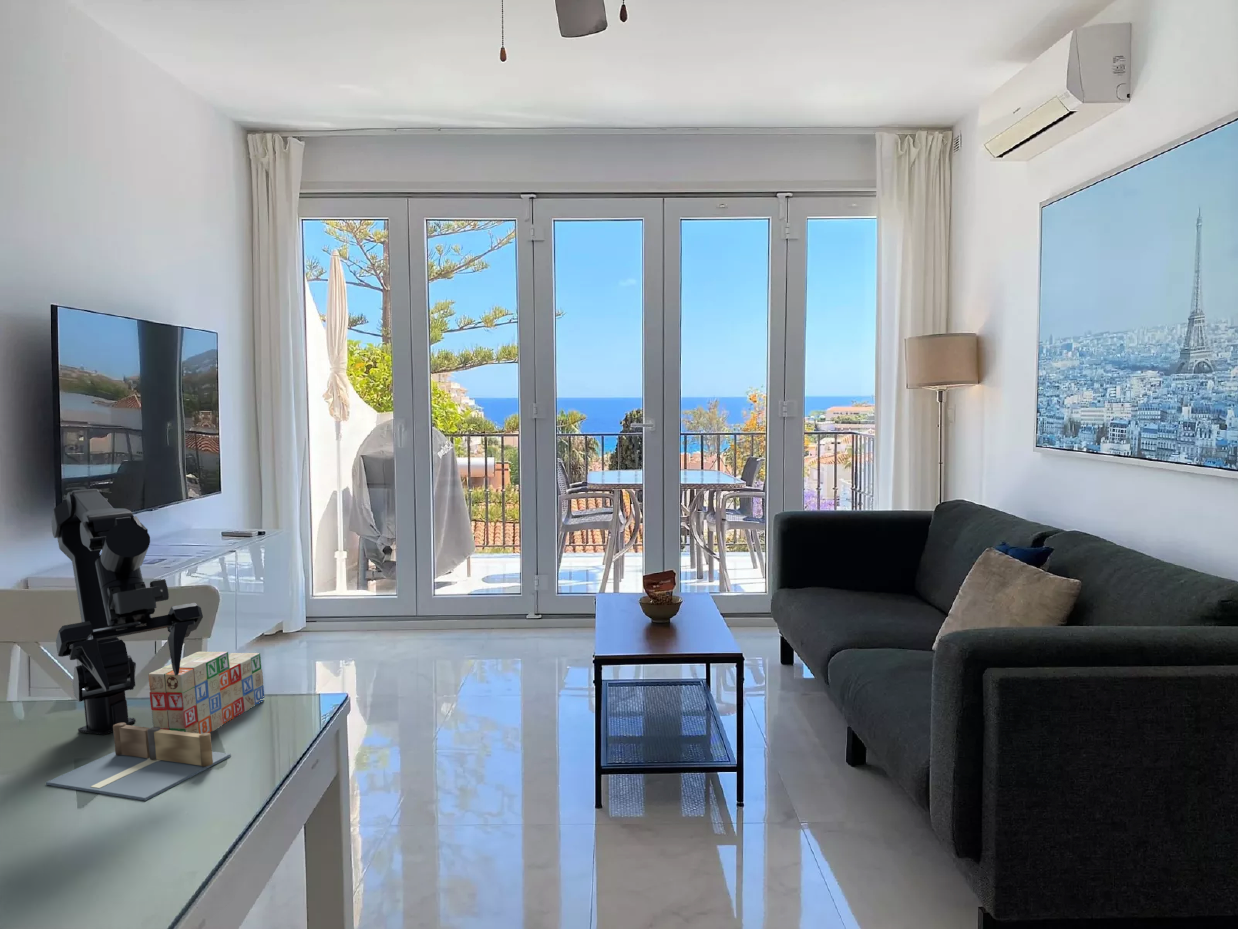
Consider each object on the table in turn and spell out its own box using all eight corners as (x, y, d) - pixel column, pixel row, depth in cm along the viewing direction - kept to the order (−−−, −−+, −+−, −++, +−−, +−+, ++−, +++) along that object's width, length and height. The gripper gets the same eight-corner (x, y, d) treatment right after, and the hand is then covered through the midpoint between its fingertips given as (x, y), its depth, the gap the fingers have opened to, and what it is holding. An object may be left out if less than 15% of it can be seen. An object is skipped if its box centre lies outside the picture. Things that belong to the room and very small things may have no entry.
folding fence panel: (147, 759, 134) (144, 730, 134) (157, 754, 136) (154, 726, 136) (206, 767, 130) (203, 737, 130) (215, 762, 132) (213, 733, 131)
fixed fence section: (112, 754, 137) (110, 726, 137) (122, 749, 139) (120, 722, 138) (145, 758, 134) (143, 730, 134) (155, 754, 136) (153, 726, 136)
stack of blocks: (235, 700, 163) (230, 636, 162) (265, 701, 161) (260, 636, 160) (153, 745, 142) (147, 672, 141) (187, 747, 140) (180, 673, 140)
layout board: (46, 784, 128) (45, 781, 128) (137, 744, 142) (137, 741, 142) (145, 800, 121) (145, 797, 121) (230, 756, 135) (230, 753, 135)
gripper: (55, 574, 120) (75, 679, 115) (198, 553, 132) (222, 648, 127) (48, 605, 128) (66, 705, 122) (184, 583, 140) (206, 673, 135)
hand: (143, 682), depth 126 cm, fingers open, 9 cm apart
